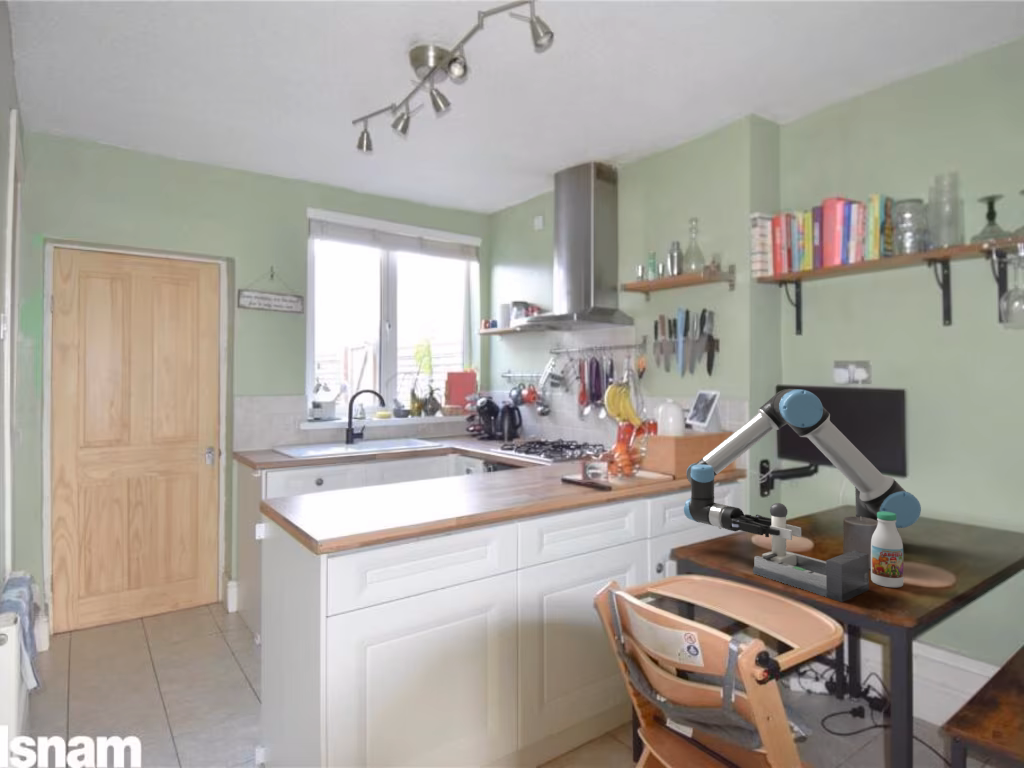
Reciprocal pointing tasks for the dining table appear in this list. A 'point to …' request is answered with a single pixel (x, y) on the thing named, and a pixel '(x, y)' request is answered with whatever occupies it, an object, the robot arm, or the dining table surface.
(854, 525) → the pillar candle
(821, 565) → the base
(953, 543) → the dining table surface
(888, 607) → the dining table surface
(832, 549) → the dining table surface
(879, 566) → the milk bottle
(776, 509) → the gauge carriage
